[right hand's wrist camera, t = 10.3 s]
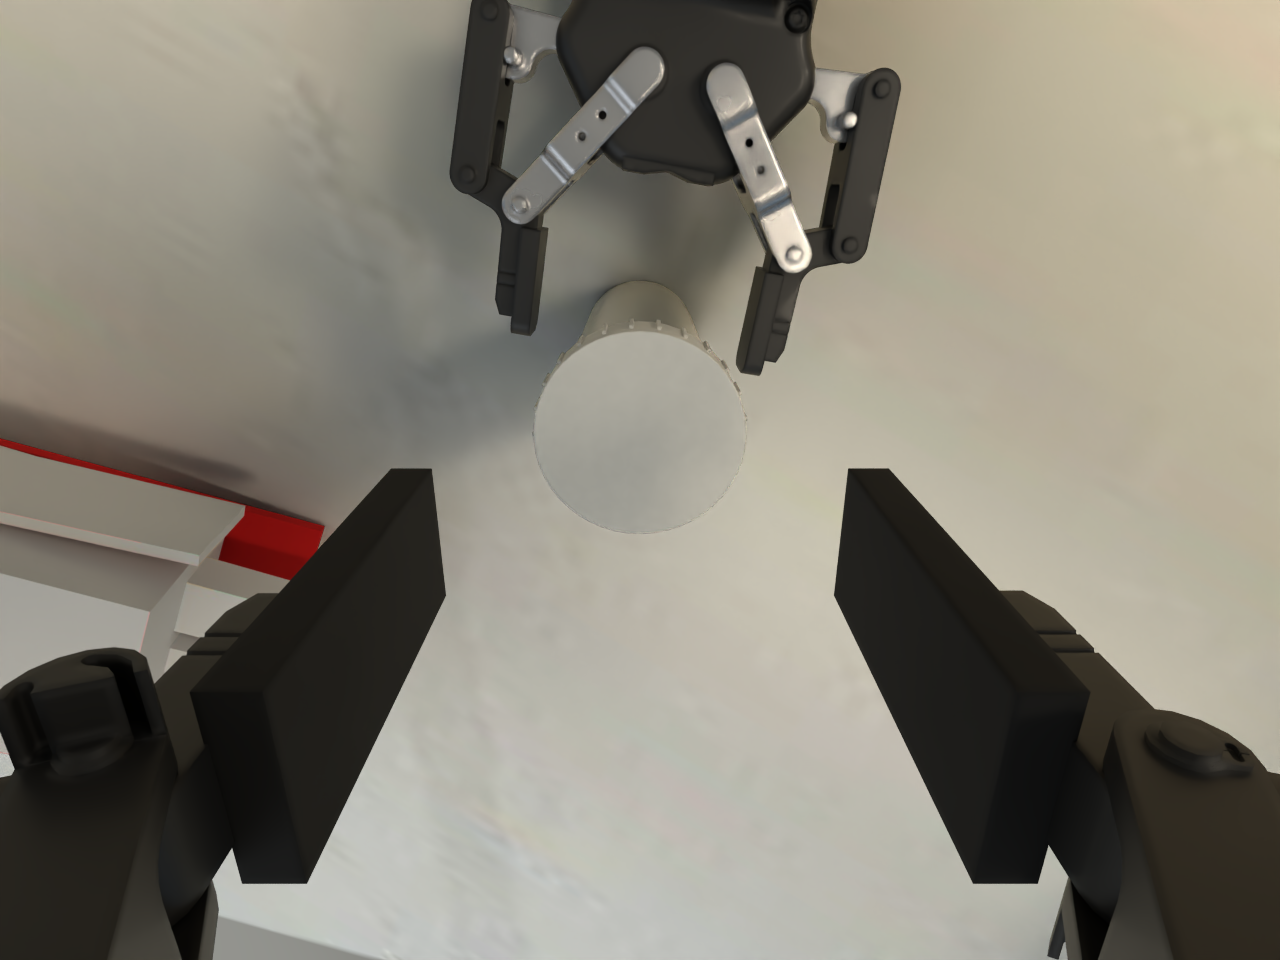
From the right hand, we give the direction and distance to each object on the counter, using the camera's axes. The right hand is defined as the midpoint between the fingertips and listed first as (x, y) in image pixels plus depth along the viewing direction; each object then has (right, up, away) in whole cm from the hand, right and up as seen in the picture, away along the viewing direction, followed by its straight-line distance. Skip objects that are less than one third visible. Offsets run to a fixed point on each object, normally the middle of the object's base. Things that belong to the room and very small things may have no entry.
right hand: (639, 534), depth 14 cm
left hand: (0, +6, +13) cm, 15 cm away
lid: (0, +2, +6) cm, 6 cm away
